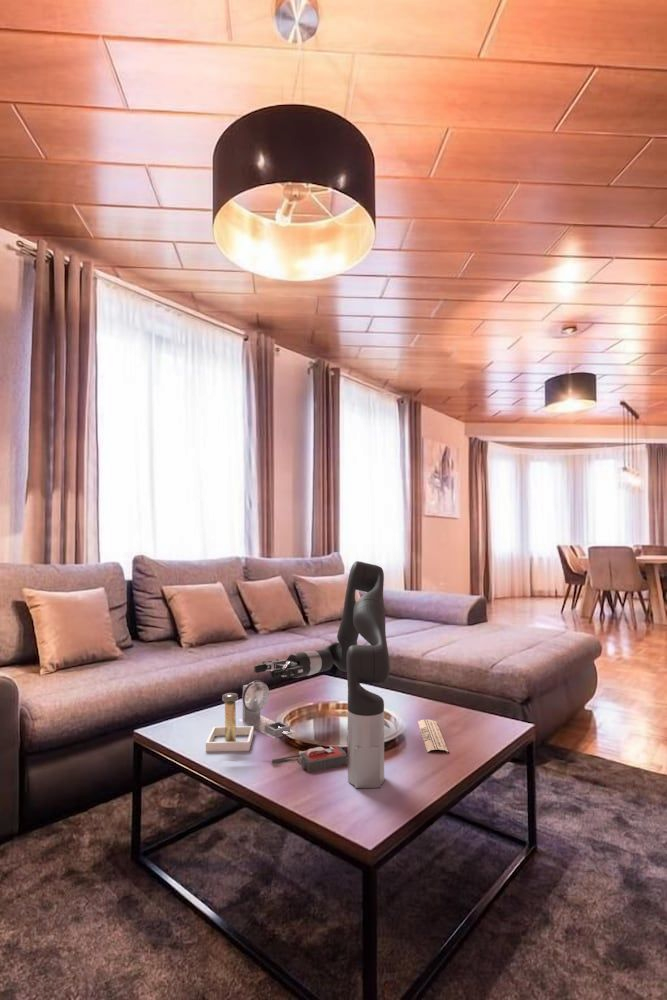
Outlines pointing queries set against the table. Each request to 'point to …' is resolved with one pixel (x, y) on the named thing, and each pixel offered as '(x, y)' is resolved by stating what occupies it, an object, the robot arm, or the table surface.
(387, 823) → the table surface
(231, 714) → the lock pin
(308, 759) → the walkie-talkie
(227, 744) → the parts tray
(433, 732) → the newspaper
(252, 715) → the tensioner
